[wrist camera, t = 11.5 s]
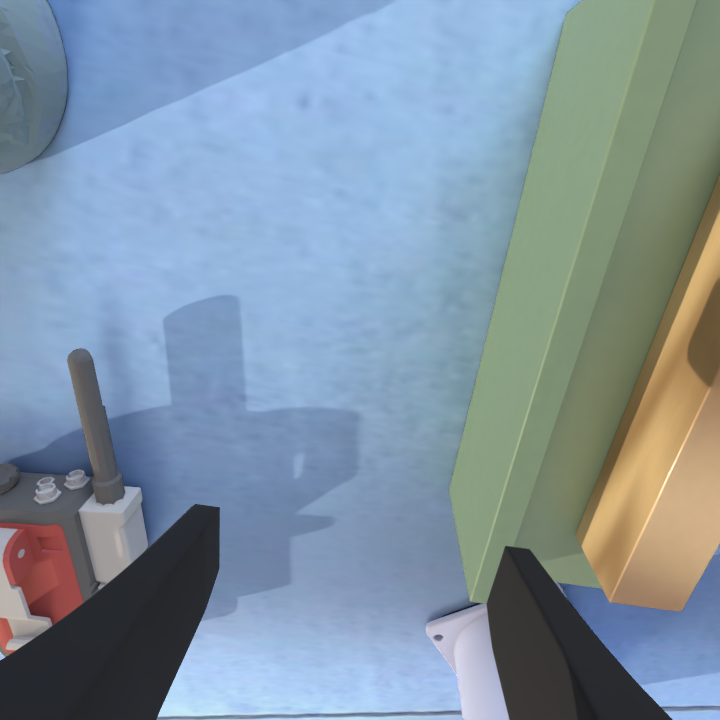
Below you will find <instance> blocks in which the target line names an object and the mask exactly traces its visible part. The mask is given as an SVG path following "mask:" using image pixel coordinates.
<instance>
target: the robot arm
mask: <svg viewBox="0 0 720 720" xmlns="http://www.w3.org/2000/svg"><path fill="white" fill-rule="evenodd" d="M219 526H220V507H213V506H205V505H198V504H195V505H194V506H192V507H191V508H190V509H189V510H188V511H187V512H186V513H185V514H184V515H183V516H182V517H181V518H180V519H179V520H178V521H177V522H176V523H174V524H173V525H172V526H171V527H170V528H169V529H168V530H167V531H166V532H165V533H164V534H163V535H162V536H161V537H160V538H159V539H158V540H157V541H156V542H154V543H153V544H152V545H151V546H150V547H149V548H148V549H147V550H146V551H144V552H143V553H142V554H141V555H140V556H139V557H138V558H137V559H136V560H134V561H133V562H132V563H131V564H130V565H129V566H128V567H127V568H125V569H124V570H123V571H122V572H121V573H119V574H118V575H117V576H116V577H115V578H113V579H112V580H111V581H110V582H108V583H107V584H106V585H105V586H104V587H102V588H101V589H100V590H99V591H97V592H96V593H95V594H94V595H93V596H91V597H90V598H89V599H88V600H86V601H85V602H84V603H82V604H81V605H80V606H78V607H77V608H76V609H74V610H73V611H72V612H70V613H69V614H68V615H66V616H65V617H64V618H62V619H61V620H59V621H58V622H57V623H55V624H54V625H52V626H51V627H50V628H48V629H47V630H45V631H44V632H43V633H41V634H40V635H38V636H37V637H35V638H34V639H32V640H31V641H29V642H28V643H26V644H25V645H23V646H22V647H20V648H19V649H17V650H16V651H14V652H13V653H11V654H10V655H8V656H7V657H5V658H3V659H2V660H0V720H156V719H157V716H158V714H159V712H160V709H161V707H162V705H163V702H164V700H165V698H166V696H167V694H168V691H169V689H170V687H171V685H172V683H173V680H174V678H175V676H176V674H177V672H178V669H179V667H180V665H181V663H182V661H183V659H184V656H185V654H186V652H187V650H188V648H189V645H190V643H191V641H192V639H193V637H194V634H195V632H196V630H197V628H198V625H199V623H200V621H201V619H202V617H203V614H204V612H205V610H206V607H207V604H208V601H209V598H210V595H211V592H212V589H213V586H214V583H215V580H216V577H217V574H218V571H219ZM426 633H427V635H428V636H429V637H430V639H431V640H432V642H433V643H434V644H435V646H436V647H437V648H438V650H439V651H440V653H441V654H442V655H443V657H444V658H445V659H446V661H447V662H448V663H449V665H450V666H451V668H452V669H453V670H454V672H455V673H456V674H457V680H458V687H459V695H460V702H461V709H462V717H463V720H672V719H671V718H670V717H669V715H668V714H667V713H666V712H665V711H664V710H663V709H662V708H661V707H660V706H659V705H658V704H657V703H656V702H655V701H654V700H653V699H652V698H651V697H650V696H649V695H648V694H647V693H646V692H645V691H644V690H643V689H642V687H641V686H640V685H639V684H638V683H637V682H636V681H635V680H634V679H633V678H632V677H631V675H630V674H629V673H628V672H627V671H626V670H625V669H624V667H623V666H622V665H621V664H620V663H619V662H618V661H617V659H616V658H615V657H614V656H613V655H612V654H611V653H610V651H609V650H608V649H607V648H606V647H605V646H604V644H603V643H602V642H601V641H600V640H599V638H598V637H597V636H596V635H595V633H594V632H593V631H592V630H591V629H590V627H589V626H588V625H587V624H586V622H585V621H584V620H583V619H582V617H581V616H580V615H579V613H578V612H577V611H576V610H575V608H574V607H573V606H572V605H571V603H570V602H569V601H568V599H567V597H566V595H565V594H564V592H563V590H562V588H561V586H560V585H559V583H558V582H554V581H553V579H552V578H551V577H550V575H549V574H548V573H547V571H546V570H545V569H544V567H543V566H542V565H541V563H540V562H539V561H538V559H537V558H536V557H535V555H534V554H533V553H532V551H531V550H530V549H526V548H519V547H511V546H505V548H504V551H503V554H502V558H501V561H500V564H499V567H498V570H497V573H496V576H495V579H494V582H493V585H492V588H491V591H490V594H489V597H488V601H487V604H483V603H482V604H479V605H476V606H473V607H470V608H468V609H465V610H462V611H459V612H456V613H453V614H450V615H447V616H444V617H441V618H438V619H435V620H433V621H430V622H428V623H427V624H426Z"/></svg>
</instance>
